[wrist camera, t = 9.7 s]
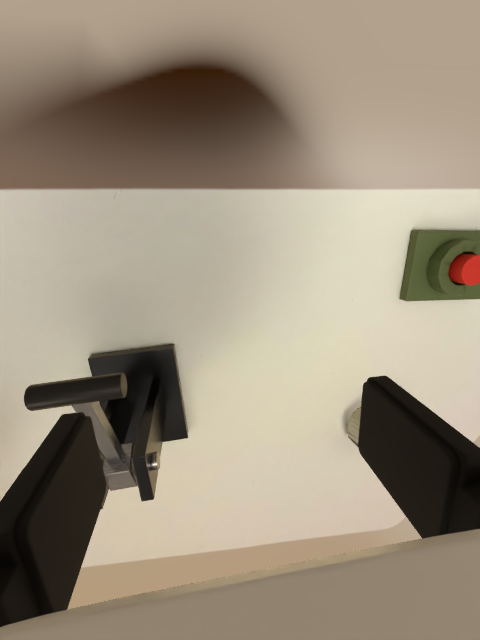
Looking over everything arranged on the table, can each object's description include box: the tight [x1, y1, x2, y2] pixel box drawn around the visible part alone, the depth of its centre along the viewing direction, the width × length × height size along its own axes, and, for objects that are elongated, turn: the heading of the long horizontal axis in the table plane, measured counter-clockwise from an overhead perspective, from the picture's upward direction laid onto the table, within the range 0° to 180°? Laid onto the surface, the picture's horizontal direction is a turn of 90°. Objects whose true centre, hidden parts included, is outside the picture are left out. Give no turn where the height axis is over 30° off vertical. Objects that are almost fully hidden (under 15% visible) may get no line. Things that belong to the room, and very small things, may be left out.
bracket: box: [88, 344, 188, 509], centre depth 29 cm, size 12×9×13 cm
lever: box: [24, 373, 138, 491], centre depth 22 cm, size 12×6×2 cm, turn 5°
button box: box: [400, 230, 480, 301], centre depth 34 cm, size 10×8×3 cm
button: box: [449, 254, 480, 285], centre depth 33 cm, size 3×3×2 cm
